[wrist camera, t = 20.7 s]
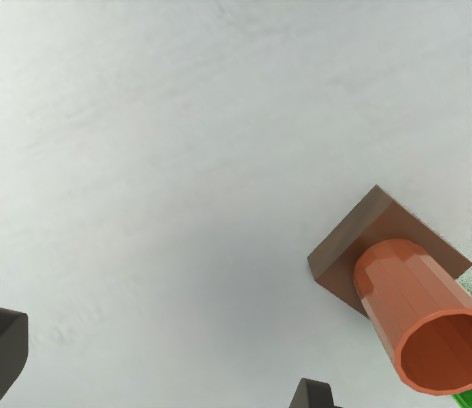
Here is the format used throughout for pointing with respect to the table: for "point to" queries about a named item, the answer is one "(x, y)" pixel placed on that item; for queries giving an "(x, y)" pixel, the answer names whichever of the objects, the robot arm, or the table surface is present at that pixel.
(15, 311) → the robot arm
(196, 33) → the table surface
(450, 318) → the cup
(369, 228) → the block
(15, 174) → the table surface
